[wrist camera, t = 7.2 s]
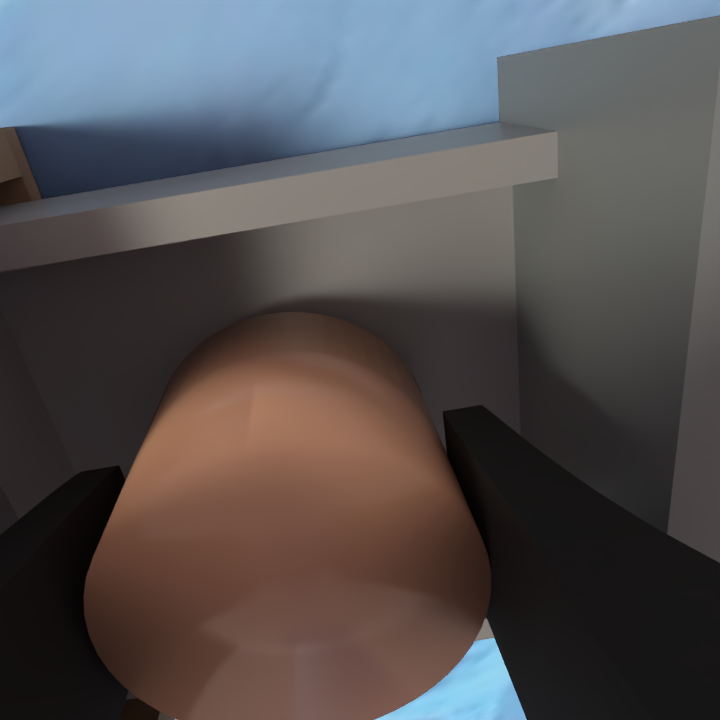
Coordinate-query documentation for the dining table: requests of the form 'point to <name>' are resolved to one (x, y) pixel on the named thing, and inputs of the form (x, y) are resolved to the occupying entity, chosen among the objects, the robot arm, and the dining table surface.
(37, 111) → the dining table surface
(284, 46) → the dining table surface
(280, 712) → the tan rounded cylinder
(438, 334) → the grey drawer
